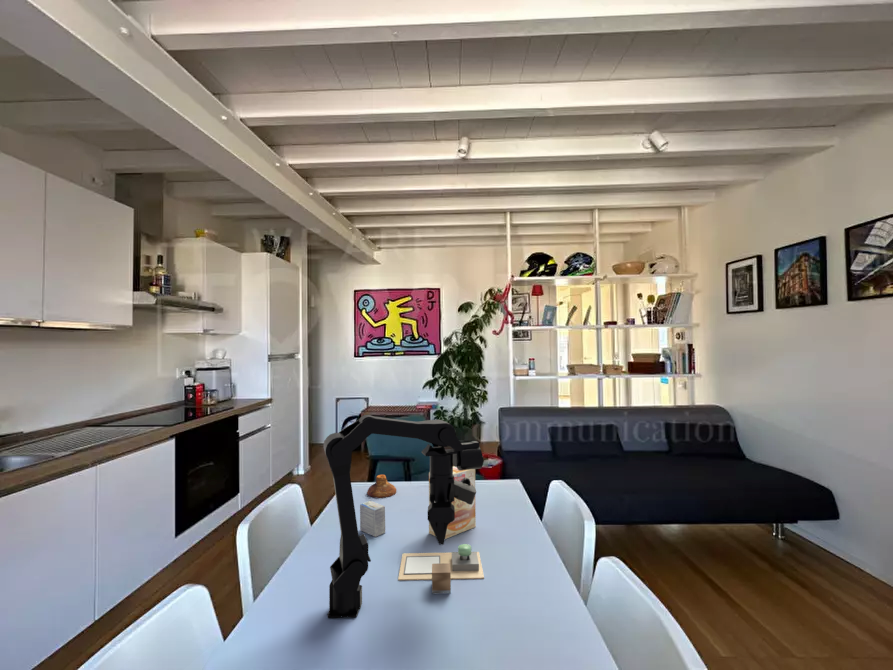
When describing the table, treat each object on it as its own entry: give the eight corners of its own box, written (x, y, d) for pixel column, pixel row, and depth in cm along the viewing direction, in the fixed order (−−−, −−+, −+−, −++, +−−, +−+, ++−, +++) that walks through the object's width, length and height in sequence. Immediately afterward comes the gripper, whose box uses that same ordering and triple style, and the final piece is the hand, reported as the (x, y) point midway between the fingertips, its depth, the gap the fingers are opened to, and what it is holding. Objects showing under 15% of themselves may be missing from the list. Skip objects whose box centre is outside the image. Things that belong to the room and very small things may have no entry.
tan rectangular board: (398, 580, 111) (398, 578, 111) (402, 554, 125) (402, 552, 125) (484, 578, 111) (484, 576, 111) (478, 552, 125) (478, 551, 125)
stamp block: (432, 594, 105) (431, 572, 105) (432, 583, 109) (432, 563, 109) (450, 593, 105) (450, 572, 105) (450, 583, 109) (449, 563, 109)
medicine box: (385, 533, 139) (385, 505, 140) (374, 537, 136) (374, 509, 136) (370, 526, 145) (370, 500, 145) (359, 530, 141) (359, 503, 142)
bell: (371, 488, 185) (371, 471, 185) (399, 489, 183) (399, 472, 184) (363, 498, 173) (363, 479, 173) (393, 498, 172) (393, 480, 172)
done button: (458, 563, 116) (458, 550, 116) (457, 557, 120) (457, 544, 120) (471, 563, 116) (471, 550, 116) (470, 556, 120) (470, 543, 120)
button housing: (452, 572, 114) (452, 564, 114) (451, 559, 121) (451, 552, 121) (478, 571, 114) (478, 564, 115) (476, 558, 121) (476, 551, 122)
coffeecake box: (442, 540, 133) (441, 476, 134) (428, 533, 139) (427, 472, 139) (476, 527, 143) (476, 467, 144) (462, 520, 148) (461, 463, 149)
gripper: (476, 483, 98) (477, 553, 97) (471, 462, 117) (471, 521, 116) (427, 483, 98) (427, 554, 97) (430, 462, 117) (430, 521, 116)
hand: (441, 536), depth 107 cm, fingers open, 9 cm apart
